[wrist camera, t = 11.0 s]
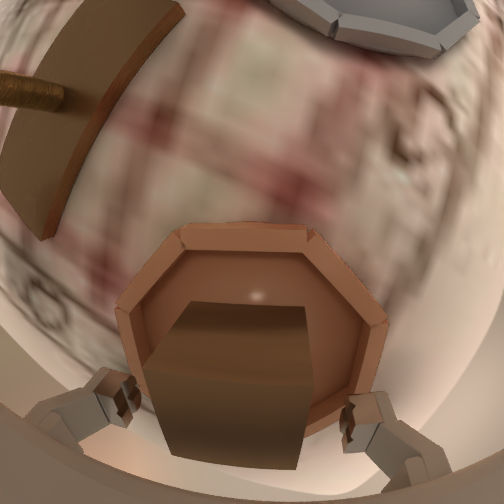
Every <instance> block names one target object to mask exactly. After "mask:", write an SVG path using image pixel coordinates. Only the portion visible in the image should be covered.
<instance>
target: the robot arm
mask: <svg viewBox="0 0 504 504" xmlns="http://www.w3.org/2000/svg"><path fill="white" fill-rule="evenodd" d="M136 384H137V381H136V378H135V376H133V375H130V374H126V373H123V372H119V371H116V370H112V369H108V368H105V367H103V368H100V369H99V371H98V372H97V373H96V374H95V375H94V376H93V377H92V378H91V379H90V381H89V382H88V383H87V384H86V385H85V386H84V387H83V388H77V389H75V390H72V391H69V392H67V393H64V394H61V395H58V396H55V397H52V398H49V399H46V400H43V401H40V402H38V403H37V404H36V405H35V406H34V407H33V408H32V409H31V411H29V413H28V414H27V415H26V416H25V417H24V418H22V417H21V416H19V415H18V414H16V413H15V412H14V411H12V410H11V409H10V408H8V407H7V406H6V405H5V404H3V403H2V402H1V401H0V504H504V449H502V450H500V451H499V452H497V453H495V454H493V455H491V456H489V457H487V458H485V459H483V460H481V461H479V462H476V463H474V464H472V465H470V466H468V467H465V468H463V469H460V470H458V471H455V472H453V473H452V470H451V467H450V465H449V462H448V460H447V457H446V455H445V452H444V450H443V448H442V447H440V446H439V445H437V444H435V443H434V442H432V441H431V440H429V439H428V438H426V437H425V436H423V435H422V434H420V433H419V432H418V431H416V430H415V429H413V428H412V427H410V426H409V425H407V424H406V423H404V422H403V421H402V420H397V418H396V416H395V413H394V410H393V408H392V405H391V402H390V400H389V397H388V395H387V392H386V391H379V392H370V393H359V394H347V395H346V397H345V400H344V404H345V407H344V408H343V409H342V410H341V414H340V421H339V423H340V432H341V433H343V434H344V435H343V438H342V447H343V453H344V454H345V453H358V452H365V453H366V454H367V455H368V456H369V457H370V459H371V460H372V461H373V462H374V463H375V464H376V465H377V466H378V467H379V468H380V469H381V470H382V471H383V472H384V473H385V474H386V475H387V476H388V477H389V478H390V479H391V480H390V482H389V483H388V484H387V485H386V486H385V487H384V489H383V490H382V491H381V493H380V494H375V495H369V496H363V497H356V498H348V499H339V500H329V501H312V502H271V501H254V500H244V499H235V498H228V497H221V496H214V495H208V494H202V493H198V492H193V491H189V490H184V489H180V488H176V487H172V486H168V485H164V484H161V483H157V482H154V481H151V480H148V479H144V478H141V477H138V476H136V475H133V474H130V473H127V472H125V471H122V470H119V469H117V468H114V467H112V466H109V465H107V464H105V463H102V462H100V461H97V460H96V459H93V458H91V457H89V456H87V455H85V454H83V453H84V451H83V449H82V448H81V446H80V445H79V444H78V442H80V441H81V440H83V439H85V438H87V437H88V436H90V435H92V434H94V433H95V432H97V431H99V430H100V429H102V428H104V427H106V426H107V425H109V423H111V424H114V425H117V426H120V427H123V428H127V427H128V425H129V424H130V422H131V420H132V419H133V416H132V413H134V412H136V411H137V410H138V409H139V407H140V404H141V393H140V390H139V389H138V388H137V387H136V386H135V385H136Z"/></svg>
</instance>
